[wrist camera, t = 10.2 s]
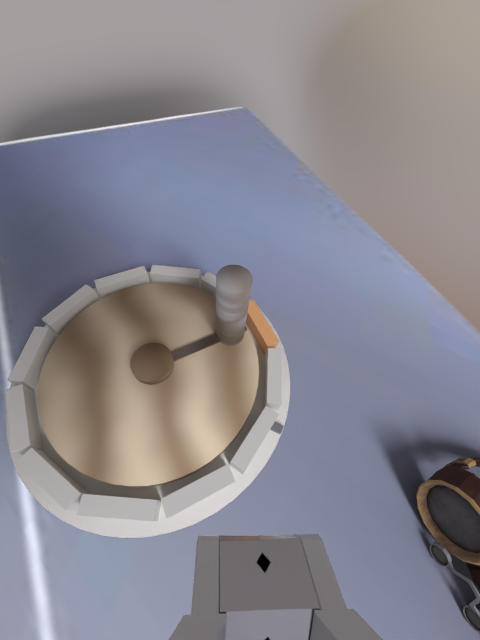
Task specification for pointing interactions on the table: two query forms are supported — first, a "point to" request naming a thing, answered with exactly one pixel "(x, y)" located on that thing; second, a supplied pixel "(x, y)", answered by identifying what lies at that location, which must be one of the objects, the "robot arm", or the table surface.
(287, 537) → the robot arm
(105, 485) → the dial base
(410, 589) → the table surface
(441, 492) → the goggles
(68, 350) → the dial
